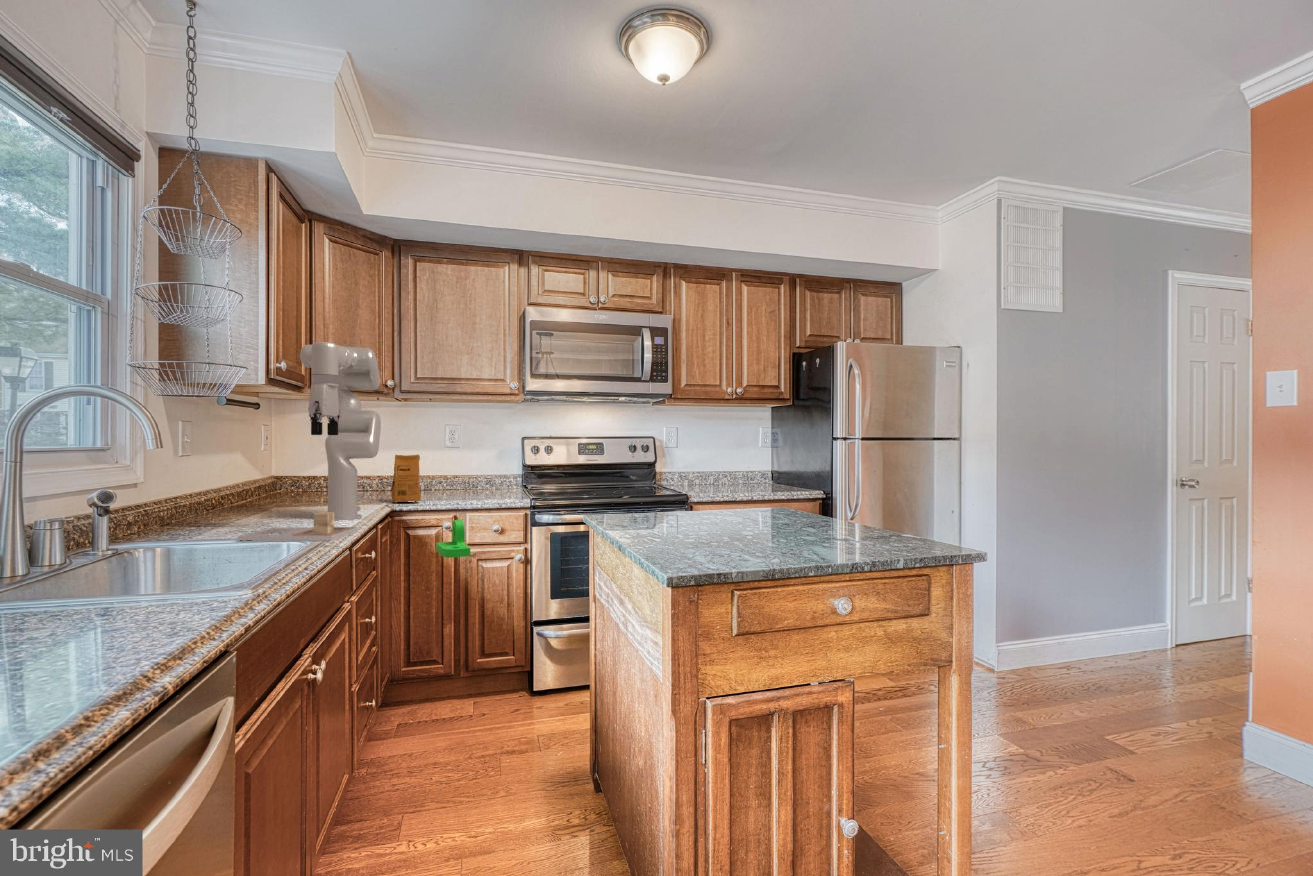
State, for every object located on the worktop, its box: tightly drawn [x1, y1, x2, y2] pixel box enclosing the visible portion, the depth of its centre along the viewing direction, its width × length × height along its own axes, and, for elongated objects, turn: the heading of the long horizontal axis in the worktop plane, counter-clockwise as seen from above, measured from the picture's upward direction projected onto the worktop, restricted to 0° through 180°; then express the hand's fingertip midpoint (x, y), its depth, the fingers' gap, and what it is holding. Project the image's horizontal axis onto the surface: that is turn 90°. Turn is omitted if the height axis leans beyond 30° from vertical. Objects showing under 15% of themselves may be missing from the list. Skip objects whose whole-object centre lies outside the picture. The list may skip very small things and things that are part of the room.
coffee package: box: [390, 454, 422, 502], centre depth 275 cm, size 10×12×22 cm
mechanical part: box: [435, 519, 471, 559], centre depth 152 cm, size 12×6×8 cm, turn 30°
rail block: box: [237, 526, 358, 542], centre depth 177 cm, size 16×26×2 cm, turn 92°
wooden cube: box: [313, 511, 335, 534], centre depth 178 cm, size 4×4×7 cm
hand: (325, 435), depth 190 cm, fingers open, 9 cm apart
